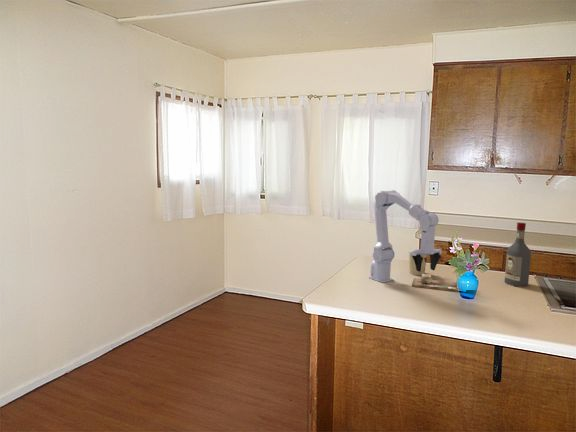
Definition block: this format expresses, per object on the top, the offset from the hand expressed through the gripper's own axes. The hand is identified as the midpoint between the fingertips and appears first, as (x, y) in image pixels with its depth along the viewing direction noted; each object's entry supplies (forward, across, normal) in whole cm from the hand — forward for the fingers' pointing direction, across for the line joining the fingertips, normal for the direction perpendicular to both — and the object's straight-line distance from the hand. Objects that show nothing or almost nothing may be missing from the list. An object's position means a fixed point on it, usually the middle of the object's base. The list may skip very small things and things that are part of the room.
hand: (425, 270), depth 196 cm
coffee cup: (+10, +17, +28) cm, 35 cm away
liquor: (+10, +52, -3) cm, 53 cm away
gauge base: (+10, +13, +6) cm, 17 cm away
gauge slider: (+9, +7, +8) cm, 14 cm away
